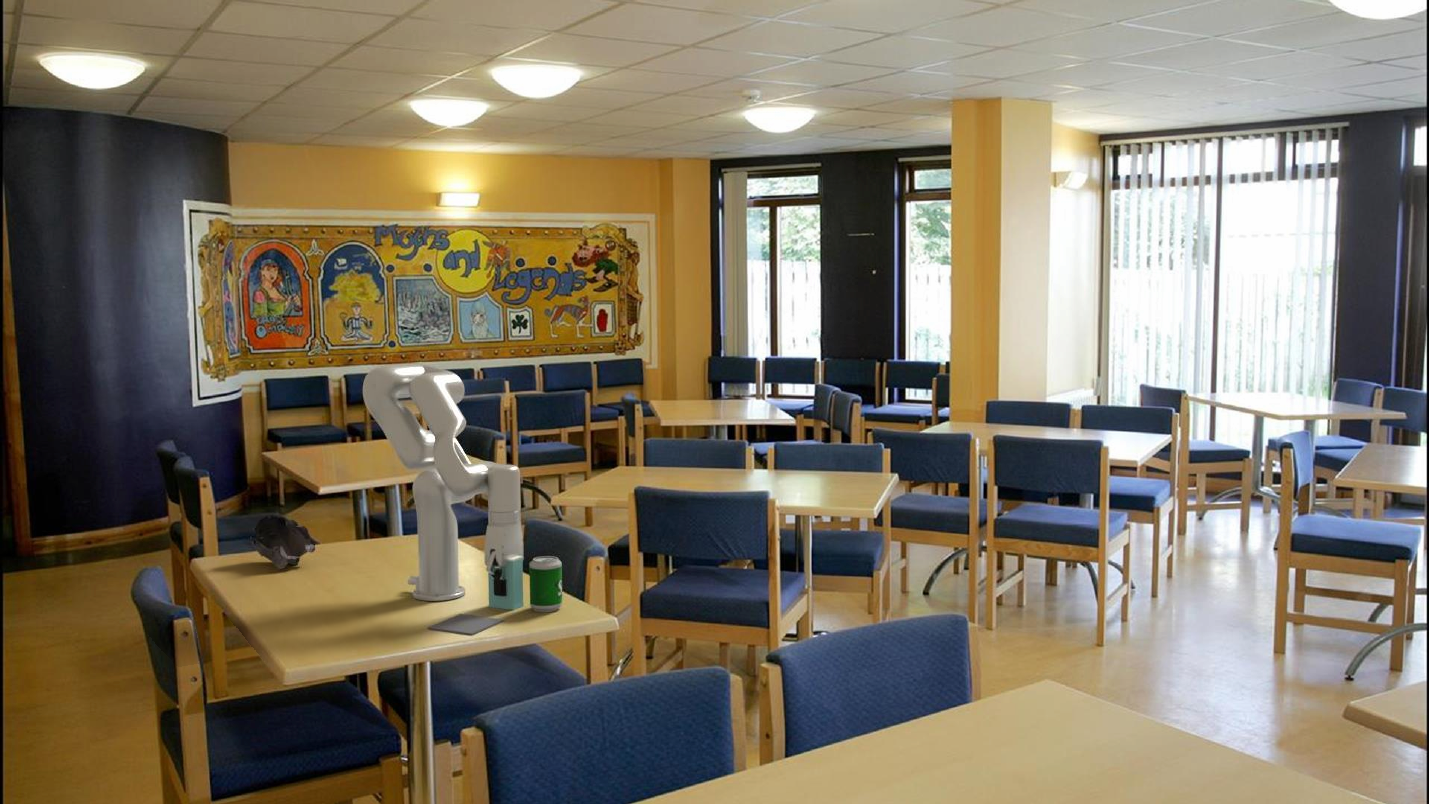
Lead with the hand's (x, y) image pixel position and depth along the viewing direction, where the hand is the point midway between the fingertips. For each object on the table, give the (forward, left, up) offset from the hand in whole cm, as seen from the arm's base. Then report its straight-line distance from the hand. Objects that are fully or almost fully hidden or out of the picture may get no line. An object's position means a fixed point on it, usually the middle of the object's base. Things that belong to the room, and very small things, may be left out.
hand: (505, 592), depth 271 cm
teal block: (0, 0, -3) cm, 3 cm away
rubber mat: (+1, -17, -3) cm, 17 cm away
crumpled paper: (-82, +11, -4) cm, 83 cm away
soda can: (+10, +2, -4) cm, 11 cm away
